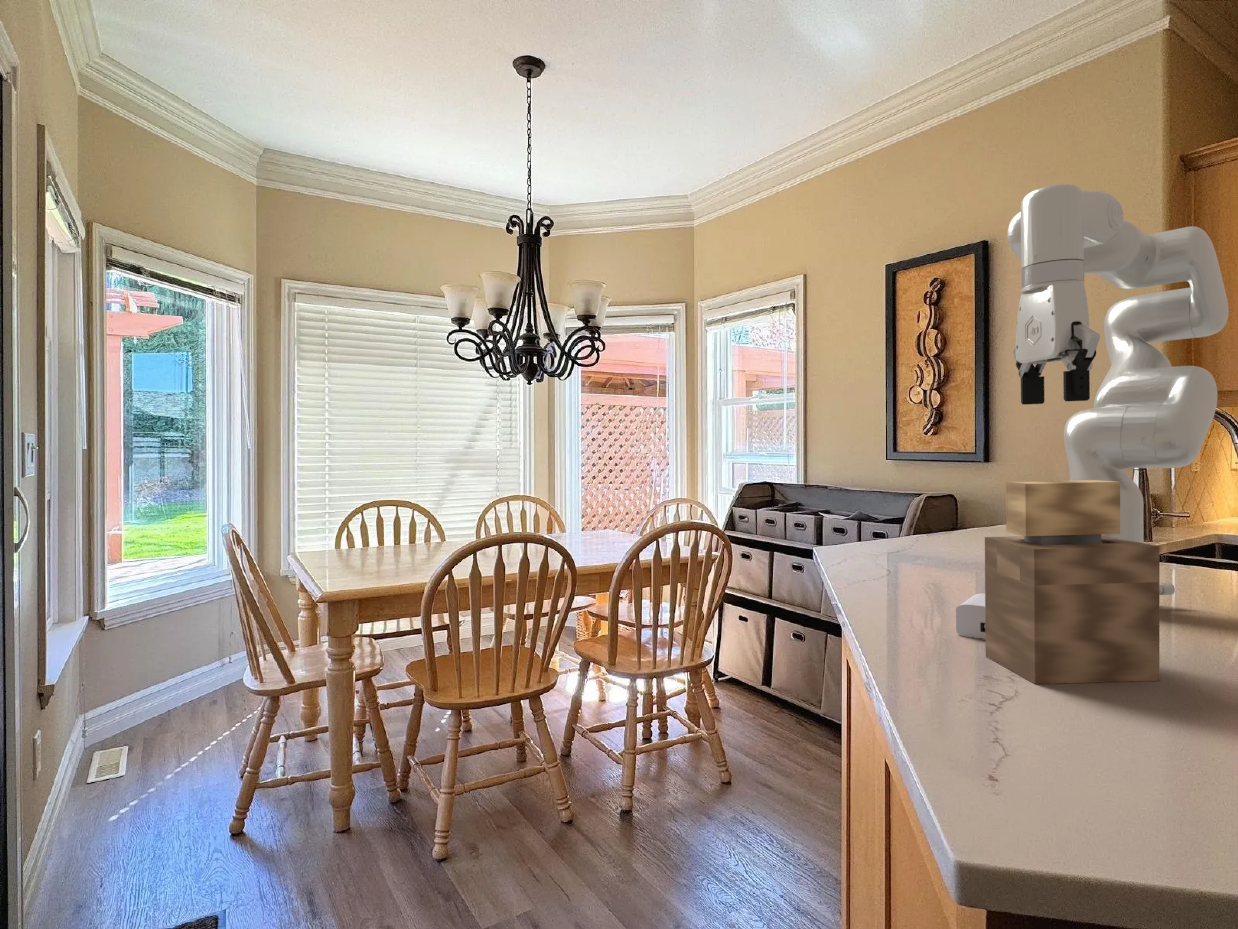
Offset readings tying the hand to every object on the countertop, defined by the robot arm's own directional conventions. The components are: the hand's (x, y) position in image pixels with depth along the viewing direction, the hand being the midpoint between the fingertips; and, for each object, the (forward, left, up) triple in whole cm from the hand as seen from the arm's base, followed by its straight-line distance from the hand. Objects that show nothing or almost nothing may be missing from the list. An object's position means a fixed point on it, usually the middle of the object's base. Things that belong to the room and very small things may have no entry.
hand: (1053, 402), depth 101 cm
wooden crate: (+9, +17, -32) cm, 37 cm away
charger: (+6, -1, -33) cm, 33 cm away
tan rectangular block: (+10, +17, -21) cm, 28 cm away
